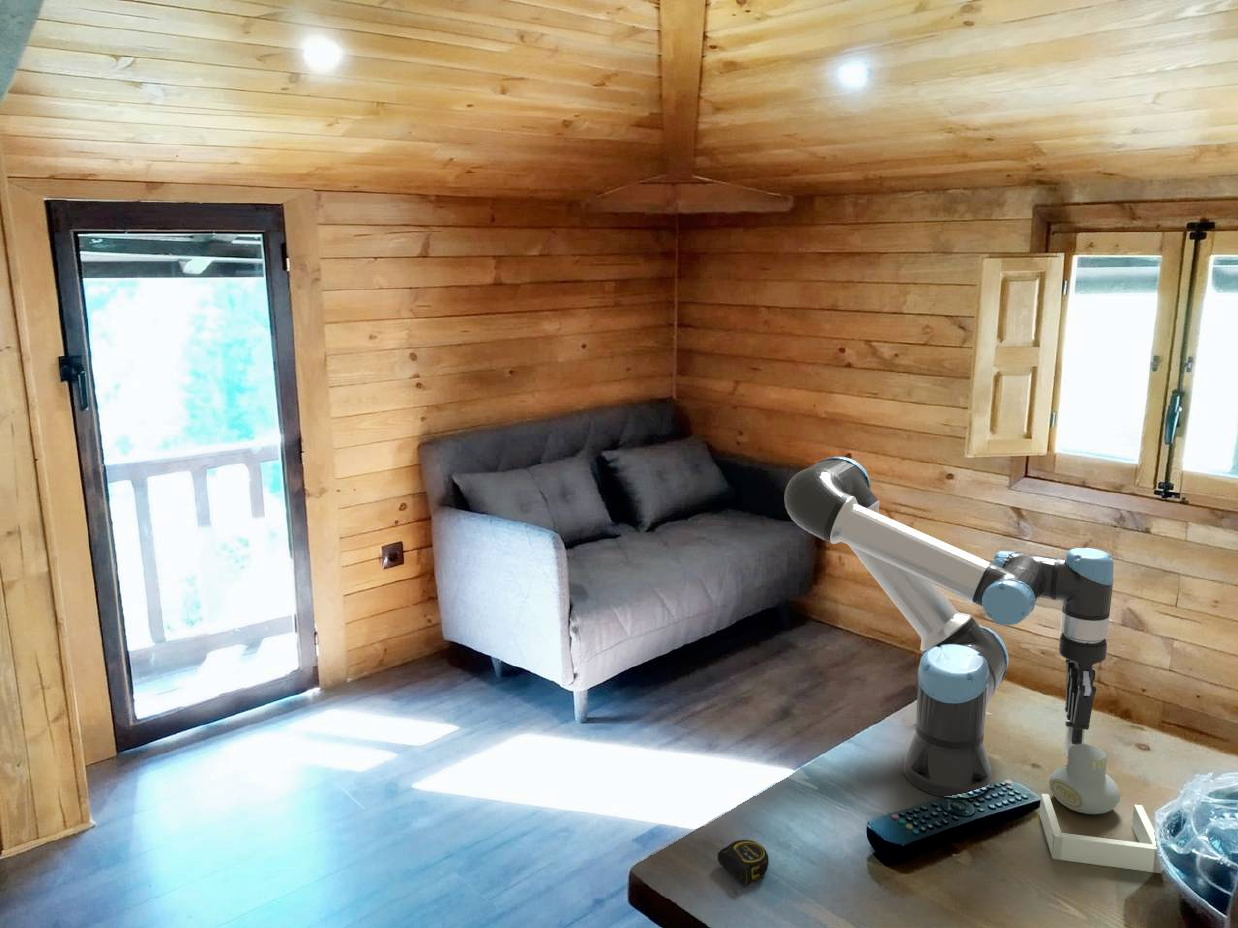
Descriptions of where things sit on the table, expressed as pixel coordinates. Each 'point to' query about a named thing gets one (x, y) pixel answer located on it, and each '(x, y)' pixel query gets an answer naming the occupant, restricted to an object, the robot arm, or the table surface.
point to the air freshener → (1085, 781)
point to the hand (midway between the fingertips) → (1073, 756)
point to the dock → (1102, 843)
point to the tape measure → (744, 860)
